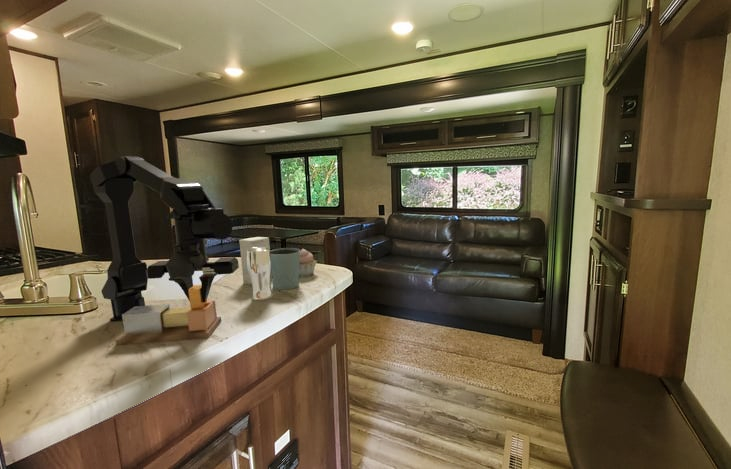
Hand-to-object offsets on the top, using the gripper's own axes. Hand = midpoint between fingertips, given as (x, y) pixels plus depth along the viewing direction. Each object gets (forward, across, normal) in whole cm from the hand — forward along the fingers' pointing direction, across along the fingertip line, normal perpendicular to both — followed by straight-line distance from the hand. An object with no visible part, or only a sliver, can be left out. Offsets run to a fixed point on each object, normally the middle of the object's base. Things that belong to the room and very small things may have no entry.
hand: (198, 302), depth 79 cm
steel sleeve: (+6, -12, 0) cm, 13 cm away
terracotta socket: (+6, +1, 0) cm, 6 cm away
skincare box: (+7, +5, +38) cm, 39 cm away
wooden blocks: (+5, -5, 0) cm, 7 cm away
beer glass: (+7, +10, +21) cm, 24 cm away
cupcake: (+7, +21, +43) cm, 48 cm away
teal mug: (+7, +16, +31) cm, 36 cm away
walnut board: (+7, -7, 0) cm, 10 cm away
